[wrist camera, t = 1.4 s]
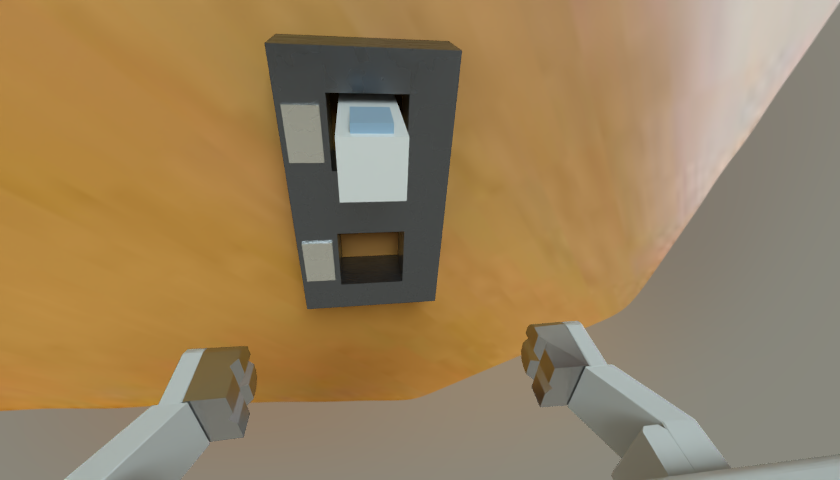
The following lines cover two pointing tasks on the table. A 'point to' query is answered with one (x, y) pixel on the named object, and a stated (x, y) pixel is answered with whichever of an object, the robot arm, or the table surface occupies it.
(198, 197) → the table surface
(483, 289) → the table surface
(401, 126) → the plug
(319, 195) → the panel
